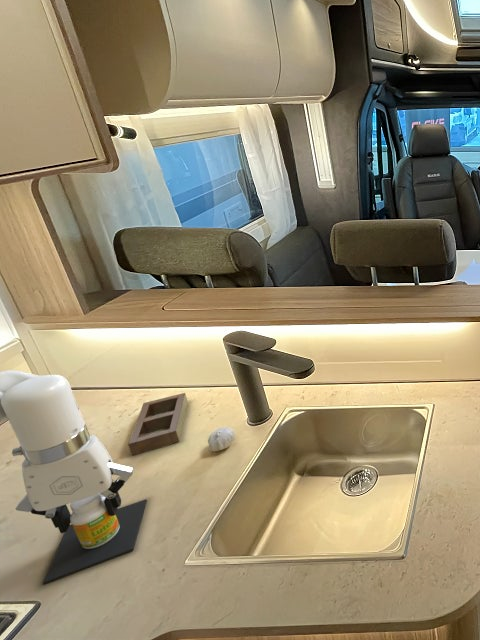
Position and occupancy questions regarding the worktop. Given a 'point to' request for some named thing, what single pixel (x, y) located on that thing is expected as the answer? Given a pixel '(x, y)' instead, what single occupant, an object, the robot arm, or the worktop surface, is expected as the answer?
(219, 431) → the garlic
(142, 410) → the stand
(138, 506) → the mat
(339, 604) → the worktop surface
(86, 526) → the supplement bottle
